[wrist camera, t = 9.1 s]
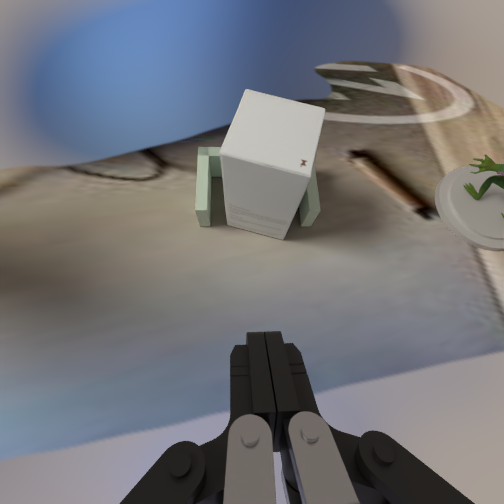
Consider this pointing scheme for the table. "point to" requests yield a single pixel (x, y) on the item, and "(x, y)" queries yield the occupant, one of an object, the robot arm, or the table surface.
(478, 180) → the monster figurine
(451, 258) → the table surface
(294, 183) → the supplement box
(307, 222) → the holder
